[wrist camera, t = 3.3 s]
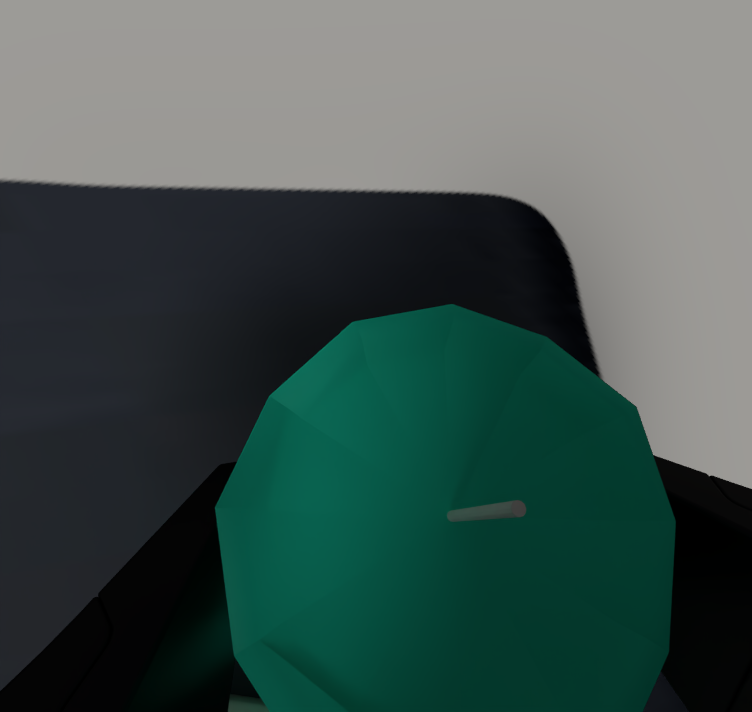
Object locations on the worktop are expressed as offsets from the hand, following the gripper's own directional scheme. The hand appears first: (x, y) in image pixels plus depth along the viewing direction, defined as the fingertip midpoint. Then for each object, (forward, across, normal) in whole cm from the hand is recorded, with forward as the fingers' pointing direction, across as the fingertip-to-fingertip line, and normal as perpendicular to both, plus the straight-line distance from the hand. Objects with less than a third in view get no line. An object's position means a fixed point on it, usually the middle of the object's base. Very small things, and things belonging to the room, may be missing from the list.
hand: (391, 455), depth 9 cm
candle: (+4, 0, +6) cm, 7 cm away
